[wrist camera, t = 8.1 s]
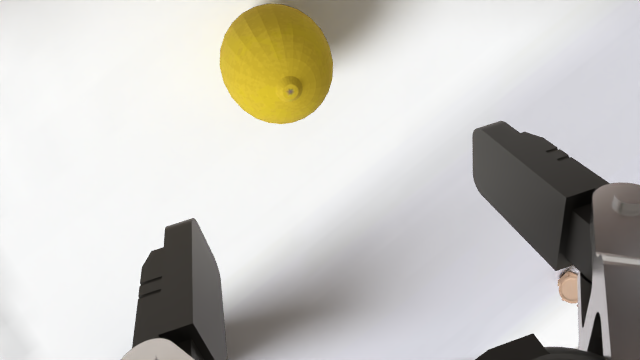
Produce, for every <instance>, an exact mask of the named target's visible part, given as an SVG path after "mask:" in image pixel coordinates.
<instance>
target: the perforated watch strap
mask: <svg viewBox="0 0 640 360" xmlns="http://www.w3.org/2000/svg"><path fill="white" fill-rule="evenodd" d="M577 278H578V275H576V274H574V273H572V272H569V271H567V272H566V273H565V274H564V275H563V276H562V277H561V278H560V279H559V280H558V286H559V285H560V286H559V293H560V296H561V297H562V300H563V301H564V300H565V301H566V302H568V303H578V289H577ZM577 307H578V305H577Z"/></svg>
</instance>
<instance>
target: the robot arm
mask: <svg viewBox="0 0 640 360" xmlns="http://www.w3.org/2000/svg"><path fill="white" fill-rule="evenodd" d="M473 178H474V182H475V184H476V187H477V189H478V191H479V192H480V194H481V195H482V196H483V197H484V198H485V199H486V200H487V201H488V202H489V203H490V204H491V205H492V206H493V207H494V208H495V209H496V210H497V211H498V212H499V213H500V214H501V215H502V216H503V217H504V218H505V219H506V220H507V221H508V222H509V223H510V225H511V226H512V227H513V228H514V229H515V230H516V231H517V232H518V233H519V234H520V235H521V236H522V237H523V238H524V239H525V240H526V241H527V242H528V243H529V244H530V245H531V246H532V247H533V248H534V249H535V250H536V251H537V252H538V253H539V254H540V255H541V256H542V257H543V258H544V259H545V260H546V261H547V262H548V264H549V265H550V266H551V267H552V268H553V269H554V270H555V271H557V270H560V269H563V268H566V267H569V266H571V265H574V266H575V267H576V268H577V269H578V270H579V272H578V278H577V289H578V325H579V346H578V349H573V348H565V347H543V345H542V344H541V343H540V342H539V340H538V339H537V338H536V337H535V335H534V334H530V335H528V336H525V337H522V338H519V339H517V340H514V341H511V342H508V343H506V344H503V345H500V346H497V347H495V348H492V349H489V350H488V351H486V352H485V353H484V354H482V355H481V356H479V357H478V358H477V359H475V360H640V185H637V184H632V183H611V184H610V183H608V182H607V181H605V180H604V179H602V178H601V177H599V176H598V175H597V174H595V173H594V172H592V171H591V170H589V169H588V168H586V167H585V166H583V165H582V164H581V163H579V162H578V161H576V160H575V159H573V158H572V157H570V158H569V156H568V155H567V154H566V153H565V152H563V151H562V150H560V149H559V150H558V149H557V147H556V146H554V145H553V144H551V143H550V142H549V141H547V140H546V139H544V138H542V137H539V136H536V135H533V134H530V133H527V132H522V133H519V132H518V131H517V130H515V129H514V128H513V127H511V126H510V125H508V124H507V123H506V122H504V121H499V122H496V123H493V124H490V125H486V126H483V127H480V128H477V129H475V130H474V132H473ZM140 284H141V286H140V288H139V299H138V305H137V313H136V321H135V329H134V337H133V346H132V349H131V350H130V351H129V352H127V353H126V354H125V355H124V356H123V358H122V359H121V360H227V348H226V337H225V325H224V313H223V301H222V290H221V279H220V274H219V270H218V266H217V263H216V261H215V258H214V256H213V254H212V252H211V250H210V248H209V246H208V244H207V242H206V239H205V237H204V235H203V233H202V231H201V229H200V227H199V225H198V223H197V221H196V220H195V219H194V218H192V219H189V220H186V221H183V222H179V223H176V224H173V225H170V226H167V227H166V228H165V238H164V247H163V248H160V249H157V250H154V251H151V253H150V255H149V256H148V258H147V260H146V262H145V263H144V265H143V267H142V272H141V280H140Z"/></svg>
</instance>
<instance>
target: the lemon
mask: <svg viewBox="0 0 640 360" xmlns="http://www.w3.org/2000/svg"><path fill="white" fill-rule="evenodd" d="M220 69H221V73H222V77H223V81H224V84H225V85H226V87H227V89H228V91H229V93H230V95H231V97H232V98H233V99H234V100H235V101H236V102H237V104H238V105H239V106H240V107H241V108H242V109H243V110H244V111H246V112H247V113H249V114H250V115H252V116H253V117H255V118H257V119H260V120H262V121H265V122H268V123H277V124H285V123H292V122H295V121H298V120H301V119H303V118H305V117H307V116H308V115H310V114H311V113H313V112H314V111H315V110H316V109H317V108H318V107H319V106H320V105H321V103H322V102H323V100H324V99H325V97H326V95H327V93H328V91H329V88H330V85H331V81H332V74H333V61H332V56H331V51H330V47H329V44H328V42H327V40H326V38H325V36H324V34H323V32H322V31H321V29H320V28H319V27H318V26H317V25H316V23H315V22H314V21H313V20H312V19H311V18H310V17H308V16H307V15H305V14H304V13H302V12H301V11H299V10H298V9H295V8H292V7H289V6H286V5H283V4H264V5H260V6H256V7H253V8H251V9H249V10H248V11H246V12H244V13H242V14H241V15H240V16H239V17H238V18H237V19H236V20H235V21H234V22H233V23H232V24H231V26H230V27H229V29H228V31H227V32H226V34H225V36H224V39H223V43H222V46H221V50H220Z"/></svg>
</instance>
